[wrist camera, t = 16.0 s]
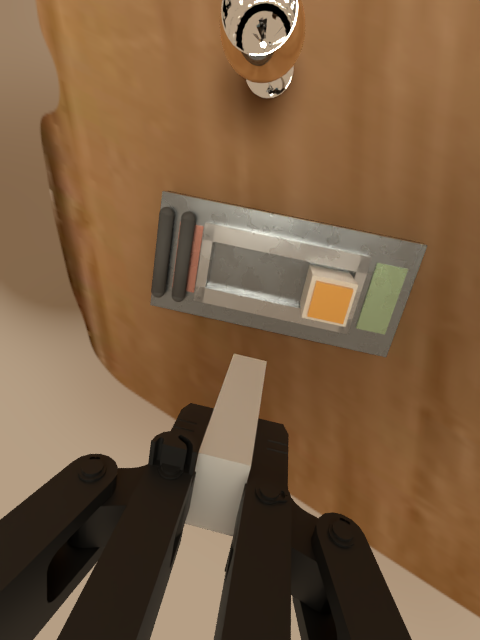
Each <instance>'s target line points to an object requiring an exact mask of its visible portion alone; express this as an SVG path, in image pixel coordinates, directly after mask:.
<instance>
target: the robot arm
mask: <svg viewBox="0 0 480 640" xmlns="http://www.w3.org/2000/svg"><path fill="white" fill-rule="evenodd" d="M266 363H267V361H263V360H259V359H255V358H250V357H246V356H242V355H238V354H234V355H233V357H232V360H231V363H230V366H229V369H228V371H227V374H226V377H225V380H224V382H223V385H222V388H221V391H220V394H219V396H218V399H217V402H216V405H215V408H209V407H205V406H201V405H197V404H193V403H190V404H189V405H187V406H186V407H184V408H183V409H182V410H181V412H180V414H179V416H178V418H177V420H176V422H175V424H174V426H173V428H172V429H171V431H169V432H163V433H161V434H159V435H157V436H155V438H154V439H153V440H152V441H151V447H150V455H149V463H148V464H147V465H145V466H141V467H137V468H118V467H117V465H116V462H115V461H114V460H113V459H112V458H110V457H109V456H106V455H102V454H89V455H86V456H82V457H80V458H78V459H76V460H75V461H73V462H72V463H70V464H69V465H68V466H67V467H65V468H64V469H63V470H62V471H61V472H59V473H58V474H57V475H55V476H54V477H53V478H52V479H50V481H48V482H47V483H46V484H44V485H43V486H42V487H41V488H39V489H38V490H37V491H36V492H34V493H33V494H32V495H31V496H29V497H28V498H27V499H26V500H24V501H23V502H22V503H21V504H20V505H18V506H17V507H16V508H14V509H13V510H12V511H11V512H9V513H8V514H7V515H6V516H4V517H3V518H2V519H1V520H0V640H33V639H34V638H35V637H36V635H37V634H38V633H39V632H40V631H41V629H42V628H43V627H44V626H45V624H46V623H47V622H48V621H49V620H50V618H51V617H52V616H53V615H54V614H55V612H56V611H57V610H58V609H59V607H60V606H61V605H62V604H63V603H64V601H65V600H66V599H67V598H68V596H69V595H70V594H71V593H72V592H73V590H74V589H75V588H76V587H77V585H78V584H79V583H80V582H81V581H82V579H83V578H84V577H85V576H86V574H87V573H88V572H89V571H90V570H91V569H92V567H93V566H94V565H95V564H96V562H97V561H98V562H97V564H96V565H95V567H94V570H93V571H92V573H91V575H90V577H89V579H88V581H87V583H86V585H85V587H84V589H83V591H82V592H81V594H80V596H79V598H78V600H77V602H76V604H75V606H74V608H73V610H72V611H71V613H70V616H69V617H68V619H67V621H66V623H65V625H64V627H63V629H62V631H61V633H60V635H59V636H58V638H57V640H150V637H151V634H152V631H153V628H154V624H155V621H156V618H157V615H158V612H159V609H160V605H161V602H162V599H163V596H164V593H165V589H166V586H167V583H168V580H169V577H170V573H171V570H172V567H173V564H174V561H175V558H176V555H177V551H178V548H179V545H180V541H181V537H182V531H183V527H184V524H185V523H186V524H189V525H193V526H196V527H200V528H204V529H207V530H211V531H215V532H219V533H223V534H226V535H230V536H233V540H232V544H231V548H230V552H229V556H228V560H227V564H226V567H225V572H226V574H225V579H224V585H223V590H222V596H221V602H220V607H219V613H218V619H217V624H216V630H215V636H214V640H291V638H290V637H291V595H292V596H293V603H294V608H295V612H296V617H297V622H298V627H299V631H300V636H301V640H412V639H411V637H410V635H409V633H408V630H407V628H406V626H405V624H404V622H403V619H402V617H401V615H400V613H399V610H398V608H397V606H396V604H395V602H394V599H393V597H392V595H391V593H390V590H389V588H388V586H387V584H386V582H385V579H384V577H383V575H382V573H381V571H380V568H379V566H378V564H377V562H376V559H375V557H374V555H373V553H372V550H371V548H370V546H369V544H368V542H367V539H366V537H365V535H364V533H363V532H362V530H361V529H360V527H359V526H358V525H357V524H356V523H355V522H353V521H352V520H351V519H349V518H348V517H346V516H344V515H342V514H337V513H325V514H323V515H322V516H321V517H319V519H318V518H317V517H315V516H313V515H311V514H309V513H307V512H306V511H304V510H303V509H301V508H300V507H299V506H298V505H297V504H296V503H295V502H294V501H293V499H292V498H291V496H290V492H289V491H288V433H287V431H286V429H285V427H284V425H283V424H279V423H275V422H271V421H267V420H263V419H259V418H258V416H259V410H260V403H261V396H262V390H263V383H264V376H265V370H266ZM185 521H186V522H185Z"/></svg>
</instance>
